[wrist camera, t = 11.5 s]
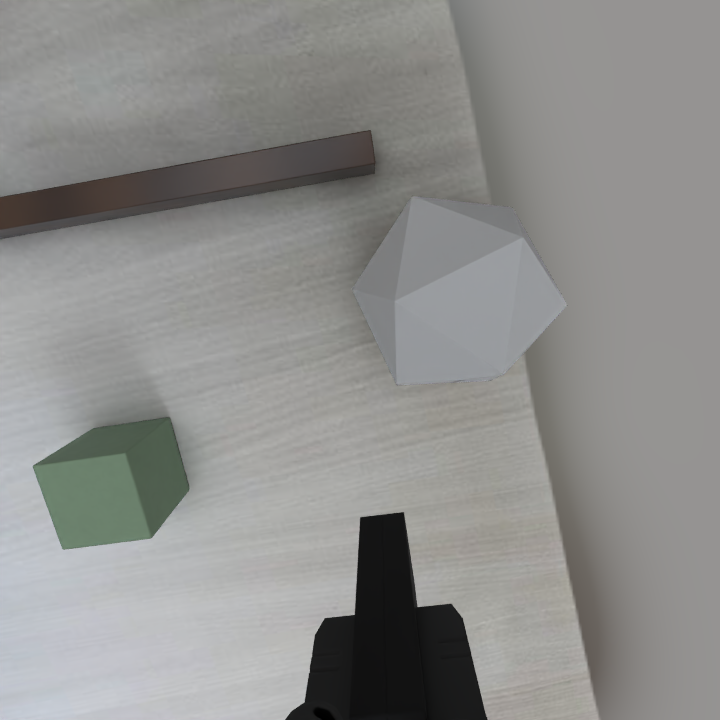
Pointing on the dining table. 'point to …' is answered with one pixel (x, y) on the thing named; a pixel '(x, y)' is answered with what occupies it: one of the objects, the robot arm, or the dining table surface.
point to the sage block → (113, 483)
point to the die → (456, 292)
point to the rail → (188, 184)
